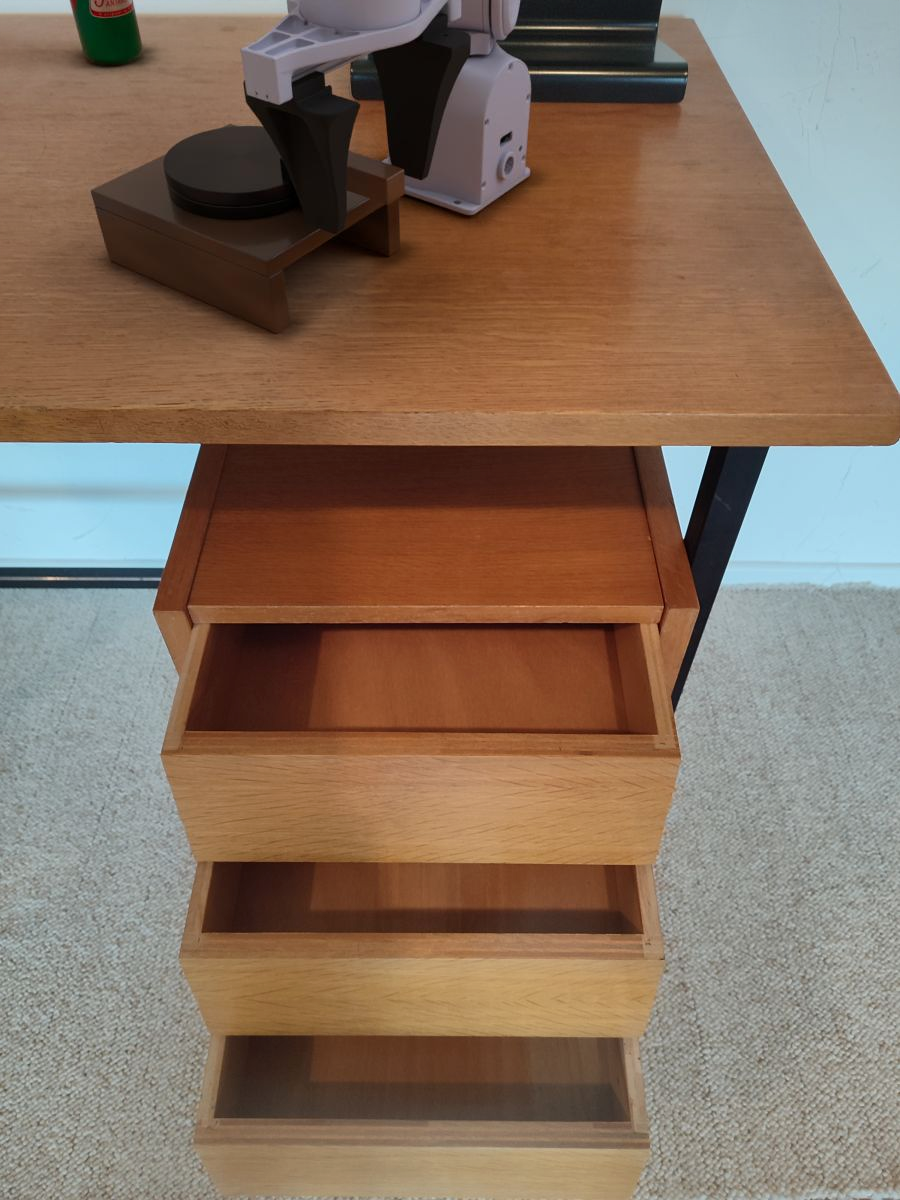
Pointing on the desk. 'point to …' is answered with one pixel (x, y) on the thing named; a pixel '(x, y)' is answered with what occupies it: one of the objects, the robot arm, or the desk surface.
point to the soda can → (107, 30)
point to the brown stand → (224, 243)
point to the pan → (256, 175)
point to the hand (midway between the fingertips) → (369, 199)
